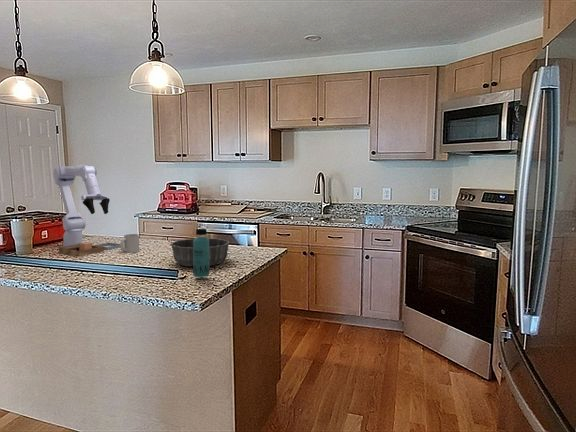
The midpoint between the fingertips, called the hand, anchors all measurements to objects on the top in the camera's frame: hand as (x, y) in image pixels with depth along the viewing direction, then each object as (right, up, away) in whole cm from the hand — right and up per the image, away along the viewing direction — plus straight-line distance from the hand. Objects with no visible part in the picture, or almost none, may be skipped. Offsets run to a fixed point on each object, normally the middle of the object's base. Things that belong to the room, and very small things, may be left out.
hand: (99, 213), depth 200 cm
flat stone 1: (-16, -20, +2) cm, 25 cm away
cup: (+12, -20, +7) cm, 25 cm away
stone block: (-8, -20, +2) cm, 21 cm away
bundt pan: (+53, -23, -14) cm, 60 cm away
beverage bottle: (+59, -26, -40) cm, 76 cm away
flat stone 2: (-13, -19, +8) cm, 24 cm away
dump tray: (-3, -19, +16) cm, 25 cm away
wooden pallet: (-11, -20, +3) cm, 23 cm away
